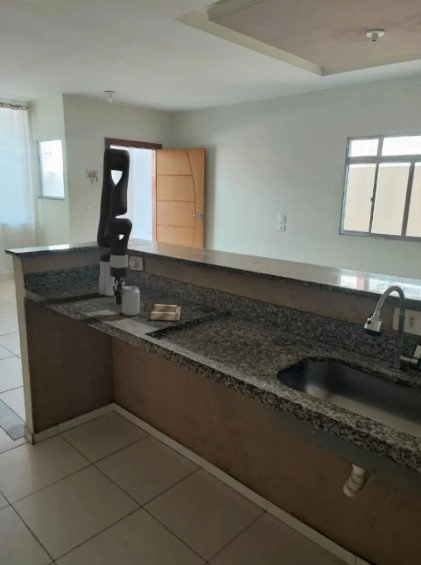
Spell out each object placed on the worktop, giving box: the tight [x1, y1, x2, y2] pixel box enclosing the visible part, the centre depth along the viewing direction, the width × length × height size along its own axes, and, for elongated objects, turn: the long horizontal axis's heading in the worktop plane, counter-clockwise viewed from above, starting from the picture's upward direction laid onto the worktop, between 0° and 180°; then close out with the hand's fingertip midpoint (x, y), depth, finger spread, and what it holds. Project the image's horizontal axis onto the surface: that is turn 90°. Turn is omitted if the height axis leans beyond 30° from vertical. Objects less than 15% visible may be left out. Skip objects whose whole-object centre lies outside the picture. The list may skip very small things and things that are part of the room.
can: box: [121, 285, 141, 317], centre depth 175 cm, size 8×8×12 cm
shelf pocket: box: [150, 289, 182, 322], centre depth 176 cm, size 12×13×10 cm
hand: (118, 304), depth 175 cm, fingers closed
